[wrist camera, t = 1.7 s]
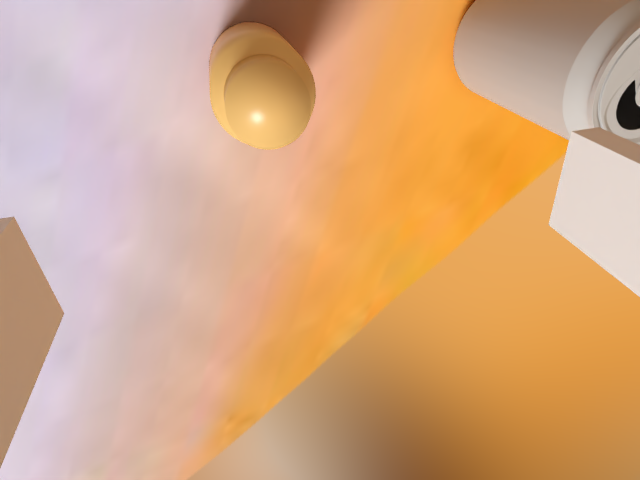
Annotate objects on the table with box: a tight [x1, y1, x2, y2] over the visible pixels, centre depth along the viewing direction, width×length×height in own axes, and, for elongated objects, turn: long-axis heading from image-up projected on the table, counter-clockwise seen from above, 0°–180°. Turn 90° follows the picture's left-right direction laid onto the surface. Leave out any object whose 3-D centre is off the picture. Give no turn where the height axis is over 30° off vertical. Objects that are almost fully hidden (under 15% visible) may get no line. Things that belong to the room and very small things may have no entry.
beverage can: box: [453, 0, 640, 145], centre depth 22 cm, size 6×6×12 cm
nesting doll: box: [209, 22, 316, 150], centre depth 22 cm, size 5×5×8 cm
